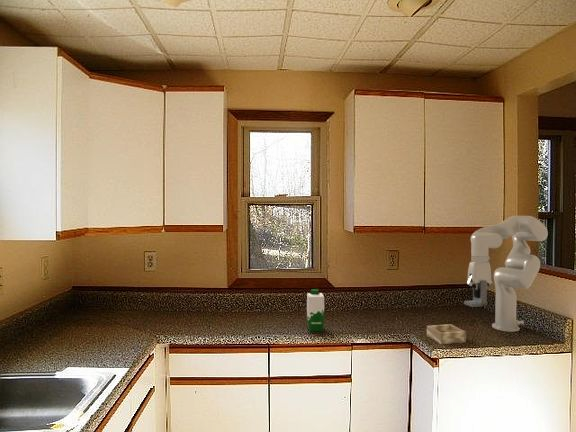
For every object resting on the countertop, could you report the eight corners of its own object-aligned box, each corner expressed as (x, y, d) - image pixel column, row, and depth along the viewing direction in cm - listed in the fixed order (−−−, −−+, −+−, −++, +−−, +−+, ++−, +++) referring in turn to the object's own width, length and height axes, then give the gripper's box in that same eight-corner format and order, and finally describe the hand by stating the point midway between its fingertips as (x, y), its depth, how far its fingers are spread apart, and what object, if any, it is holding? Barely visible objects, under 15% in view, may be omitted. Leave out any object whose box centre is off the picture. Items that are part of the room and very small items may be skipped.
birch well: (450, 334, 198) (450, 324, 198) (465, 342, 186) (466, 331, 186) (426, 335, 195) (426, 325, 195) (440, 344, 184) (440, 333, 184)
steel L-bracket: (478, 302, 197) (478, 278, 197) (486, 305, 191) (486, 281, 191) (464, 303, 195) (463, 279, 195) (471, 307, 189) (471, 281, 189)
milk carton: (322, 326, 211) (322, 288, 211) (325, 331, 202) (325, 292, 202) (306, 326, 210) (306, 289, 210) (308, 332, 201) (308, 292, 201)
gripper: (489, 257, 198) (489, 294, 199) (459, 259, 195) (459, 296, 196) (500, 259, 191) (500, 297, 192) (469, 261, 188) (469, 300, 188)
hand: (479, 296), depth 194 cm, fingers closed on steel L-bracket, 3 cm apart
